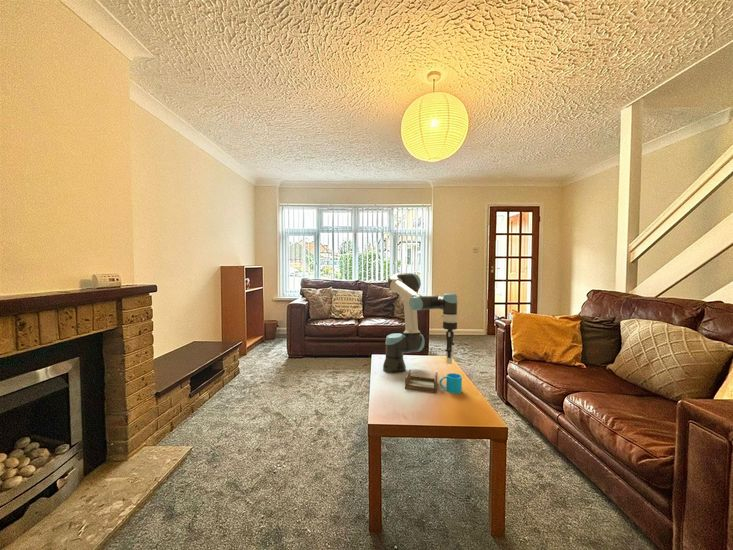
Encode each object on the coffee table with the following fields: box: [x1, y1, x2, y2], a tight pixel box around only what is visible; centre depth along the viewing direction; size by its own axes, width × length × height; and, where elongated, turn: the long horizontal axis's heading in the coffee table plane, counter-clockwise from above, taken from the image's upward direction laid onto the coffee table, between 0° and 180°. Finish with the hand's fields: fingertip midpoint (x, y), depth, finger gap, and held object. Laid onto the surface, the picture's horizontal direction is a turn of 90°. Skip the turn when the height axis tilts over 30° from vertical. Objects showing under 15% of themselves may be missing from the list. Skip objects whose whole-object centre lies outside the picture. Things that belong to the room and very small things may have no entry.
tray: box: [404, 369, 438, 393], centre depth 171 cm, size 15×17×6 cm
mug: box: [438, 373, 463, 394], centre depth 165 cm, size 12×8×8 cm
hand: (449, 360), depth 164 cm, fingers open, 13 cm apart
